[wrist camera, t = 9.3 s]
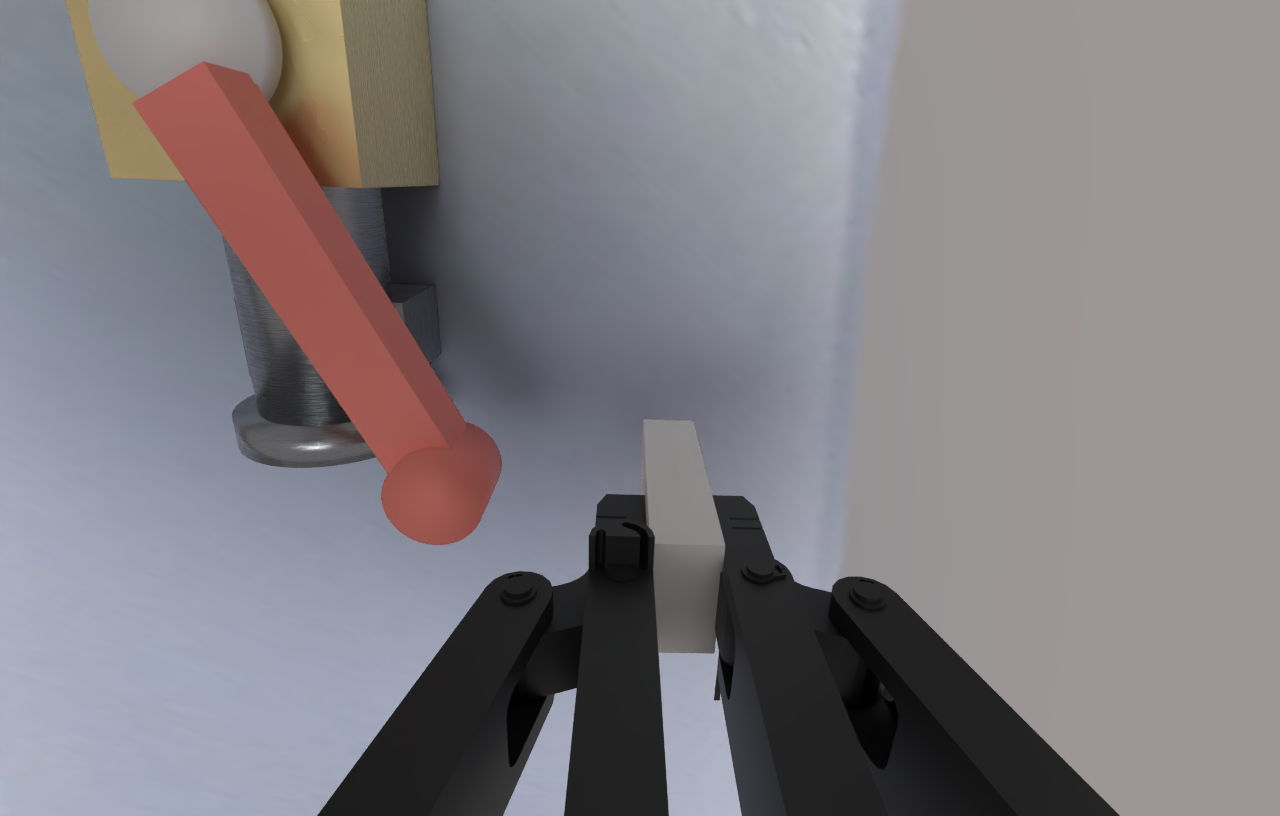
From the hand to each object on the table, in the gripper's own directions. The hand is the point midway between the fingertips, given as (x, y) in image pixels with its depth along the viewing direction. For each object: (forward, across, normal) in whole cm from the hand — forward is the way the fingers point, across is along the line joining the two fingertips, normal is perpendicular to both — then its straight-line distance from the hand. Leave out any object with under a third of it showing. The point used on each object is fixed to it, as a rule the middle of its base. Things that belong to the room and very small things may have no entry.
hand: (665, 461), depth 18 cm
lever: (+2, -10, +5) cm, 11 cm away
